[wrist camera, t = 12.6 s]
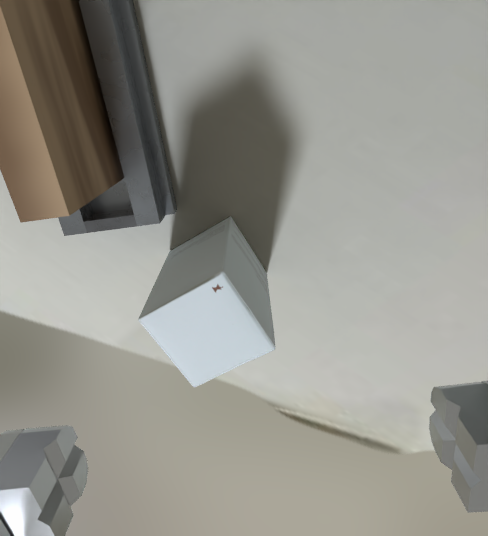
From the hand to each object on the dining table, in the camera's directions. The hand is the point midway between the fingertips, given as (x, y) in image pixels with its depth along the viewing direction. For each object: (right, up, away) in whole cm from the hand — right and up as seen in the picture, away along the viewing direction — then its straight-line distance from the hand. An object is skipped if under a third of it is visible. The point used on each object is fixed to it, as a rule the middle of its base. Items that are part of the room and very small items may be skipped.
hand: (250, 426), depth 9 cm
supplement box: (-3, +4, +30) cm, 31 cm away
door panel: (-13, +18, +22) cm, 31 cm away
